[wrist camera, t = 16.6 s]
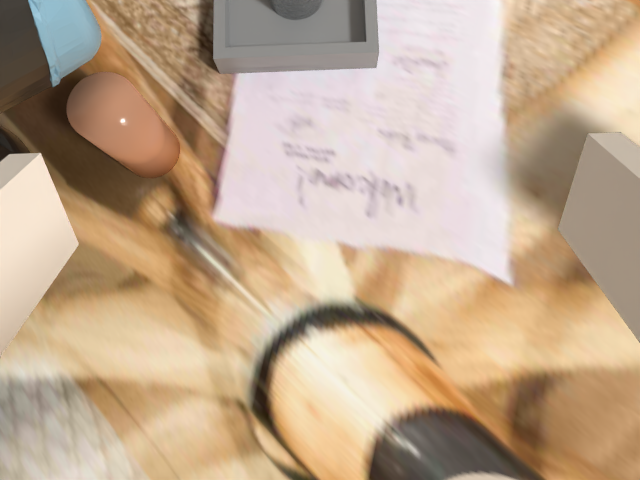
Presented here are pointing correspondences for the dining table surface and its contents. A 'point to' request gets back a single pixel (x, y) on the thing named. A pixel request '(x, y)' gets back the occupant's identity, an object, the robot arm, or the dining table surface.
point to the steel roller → (295, 8)
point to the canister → (122, 124)
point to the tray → (294, 37)
